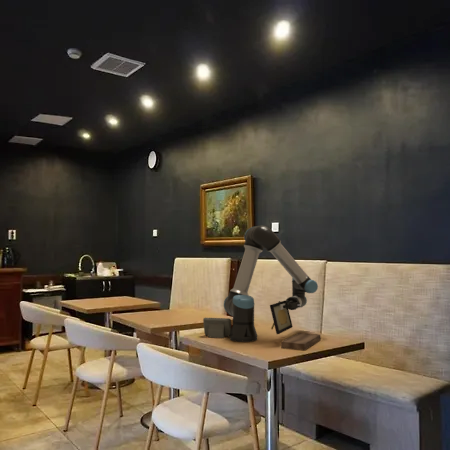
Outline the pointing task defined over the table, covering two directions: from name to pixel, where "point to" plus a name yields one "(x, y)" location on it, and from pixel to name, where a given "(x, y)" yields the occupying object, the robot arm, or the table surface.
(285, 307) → the robot arm
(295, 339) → the plinth
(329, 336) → the table surface
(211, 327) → the digital clock
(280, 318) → the picture frame
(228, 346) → the table surface
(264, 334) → the table surface
